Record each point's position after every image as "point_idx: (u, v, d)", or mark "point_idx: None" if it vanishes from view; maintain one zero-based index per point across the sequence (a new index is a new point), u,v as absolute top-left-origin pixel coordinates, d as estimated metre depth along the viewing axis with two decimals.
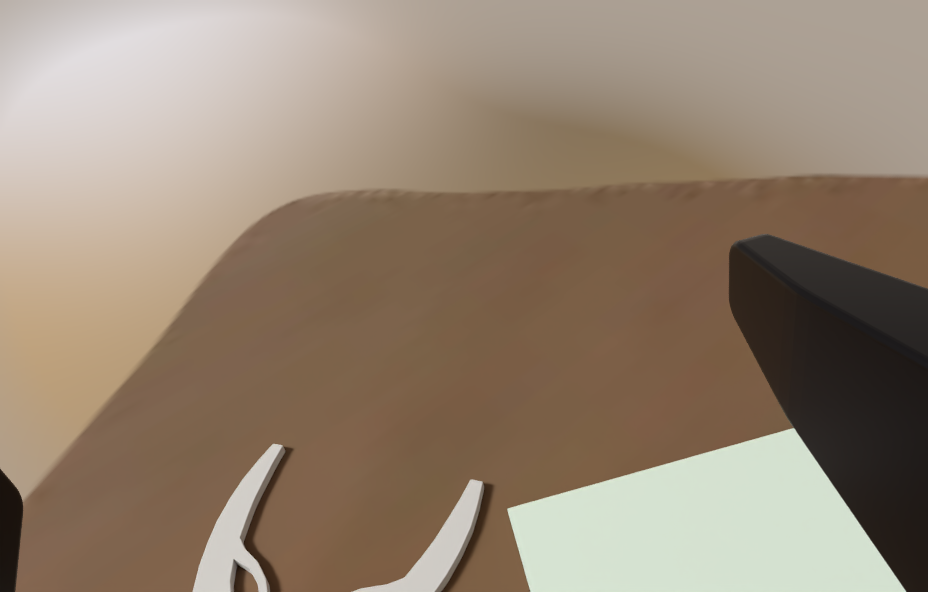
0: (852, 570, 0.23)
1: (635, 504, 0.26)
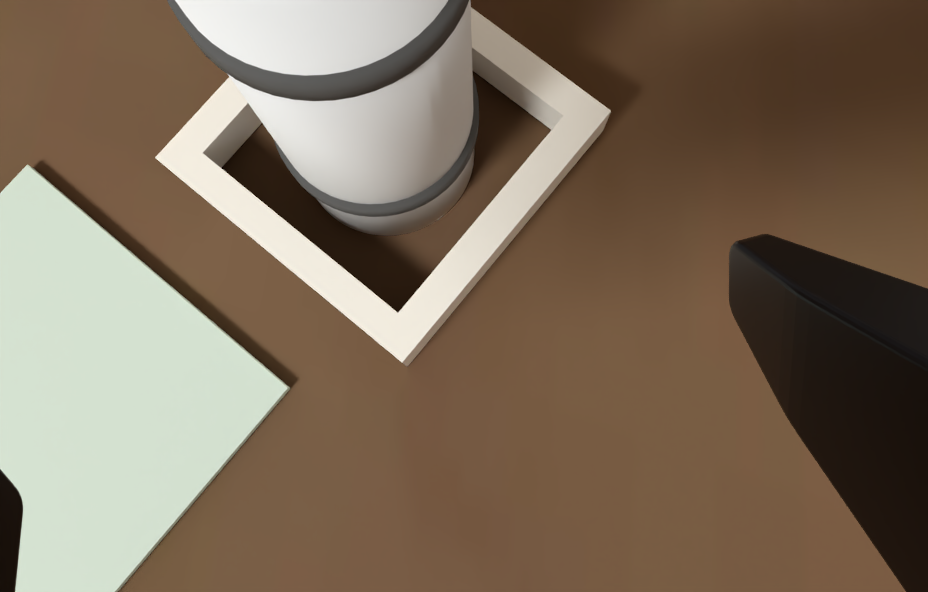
0: (117, 314, 0.23)
1: None
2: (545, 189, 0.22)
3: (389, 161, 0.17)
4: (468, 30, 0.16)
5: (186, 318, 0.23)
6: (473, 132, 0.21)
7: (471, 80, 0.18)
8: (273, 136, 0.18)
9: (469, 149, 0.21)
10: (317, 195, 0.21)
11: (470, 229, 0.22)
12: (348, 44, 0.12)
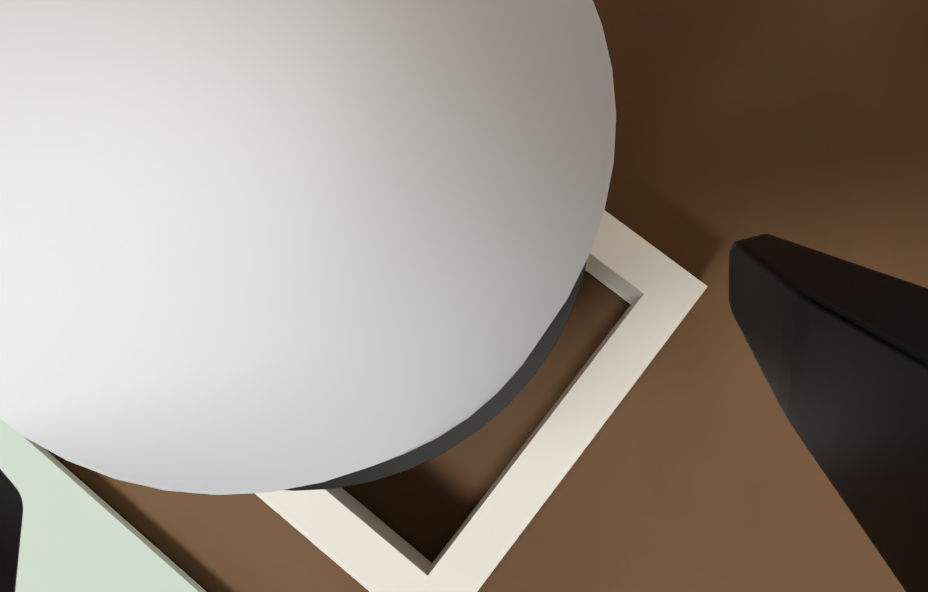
0: (50, 563, 0.17)
1: None
2: (622, 397, 0.17)
3: None
4: None
5: (142, 566, 0.17)
6: None
7: None
8: None
9: None
10: None
11: (523, 455, 0.16)
12: None
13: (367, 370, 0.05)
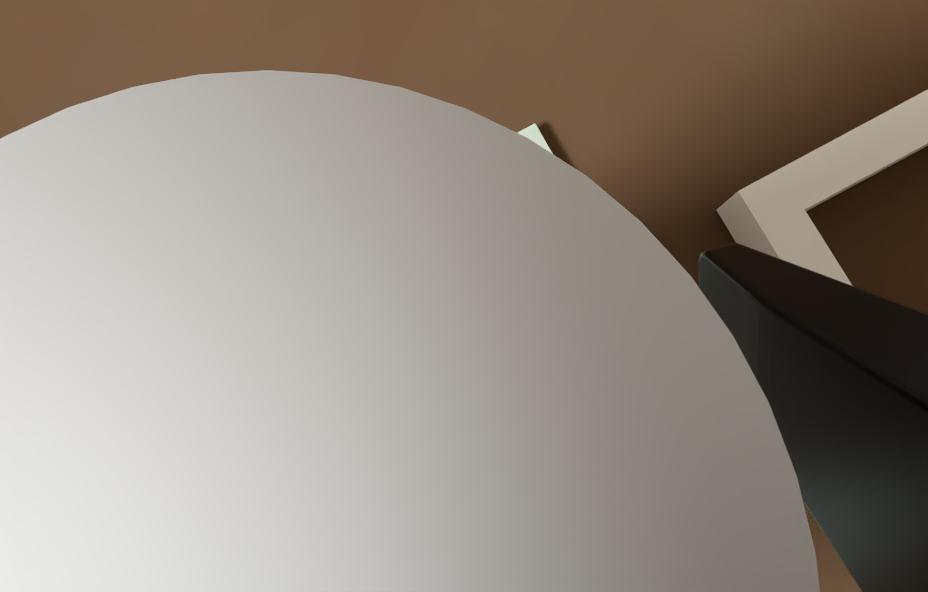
0: None
1: None
2: None
3: None
4: None
5: None
6: None
7: None
8: None
9: None
10: None
11: None
12: None
13: None
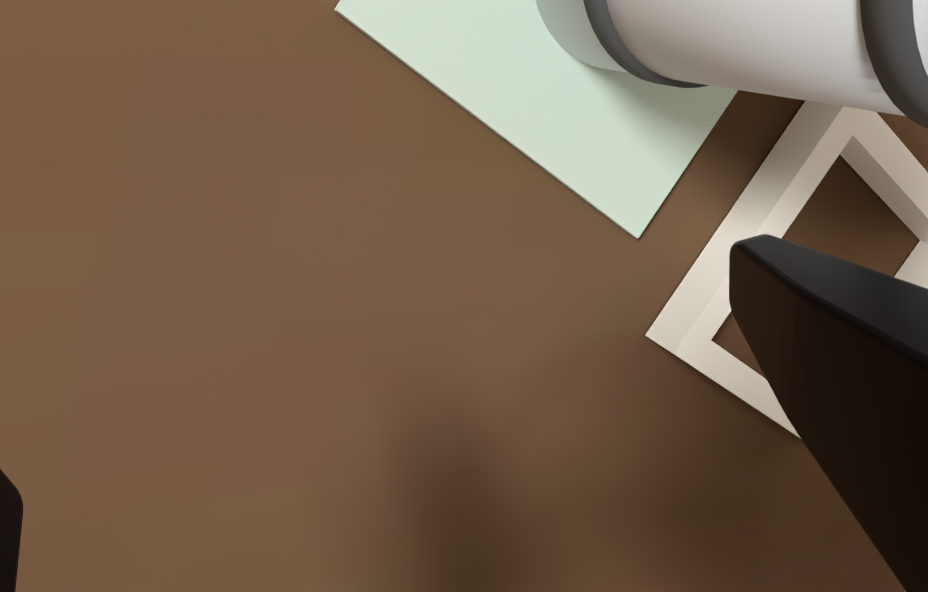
0: None
1: None
2: (785, 427, 0.27)
3: (712, 54, 0.15)
4: None
5: (701, 125, 0.23)
6: None
7: None
8: None
9: (694, 86, 0.18)
10: None
11: (765, 380, 0.26)
12: None
13: None
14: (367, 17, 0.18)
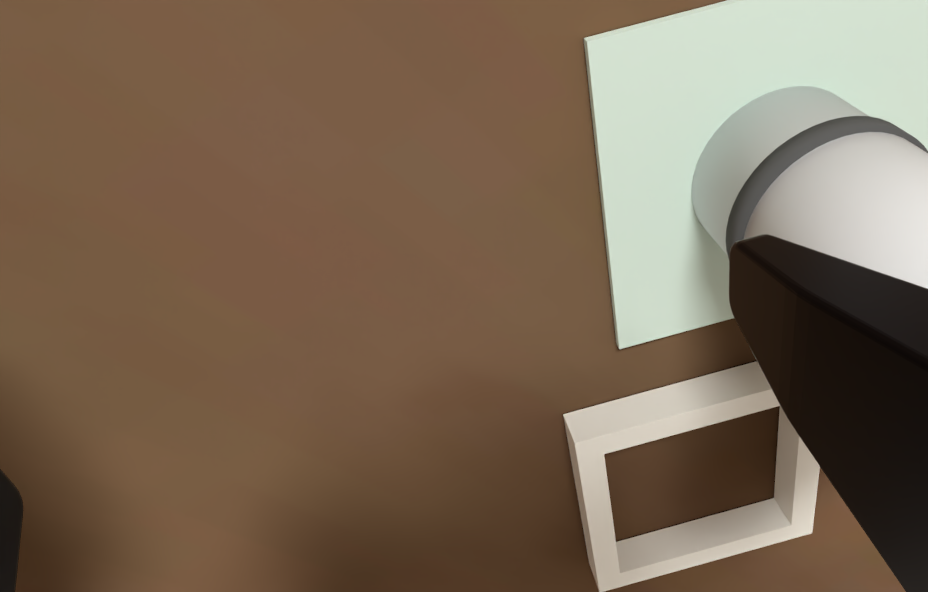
0: None
1: (912, 97, 0.23)
2: (592, 549, 0.31)
3: None
4: None
5: (722, 312, 0.27)
6: None
7: None
8: (882, 197, 0.17)
9: None
10: (787, 158, 0.20)
11: (610, 508, 0.30)
12: None
13: None
14: (600, 63, 0.21)
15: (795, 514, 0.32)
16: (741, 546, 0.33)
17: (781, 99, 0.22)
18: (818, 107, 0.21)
